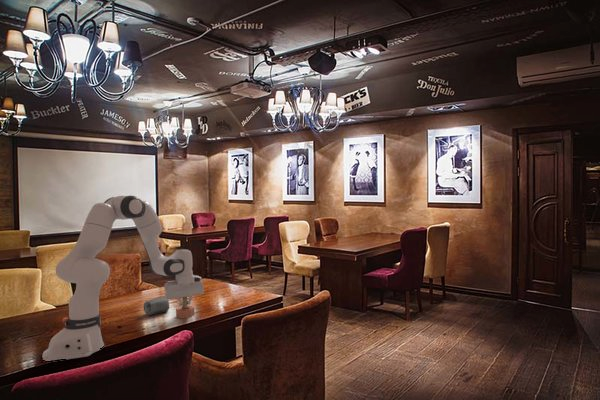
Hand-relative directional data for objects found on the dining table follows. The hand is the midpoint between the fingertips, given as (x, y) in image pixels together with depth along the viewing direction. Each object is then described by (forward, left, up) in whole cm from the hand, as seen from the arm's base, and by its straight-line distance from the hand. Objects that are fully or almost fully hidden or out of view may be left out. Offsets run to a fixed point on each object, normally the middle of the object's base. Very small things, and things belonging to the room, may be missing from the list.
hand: (185, 304), depth 211 cm
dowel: (0, 0, -5) cm, 5 cm away
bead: (0, 0, -6) cm, 6 cm away
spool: (-12, +13, -6) cm, 19 cm away
